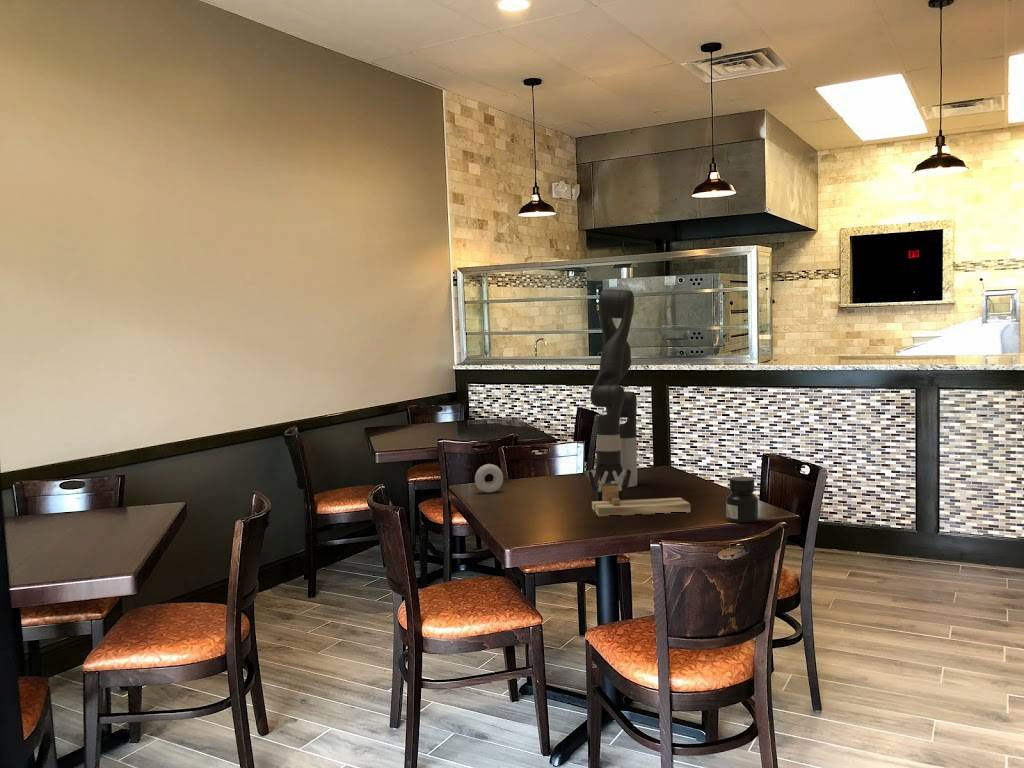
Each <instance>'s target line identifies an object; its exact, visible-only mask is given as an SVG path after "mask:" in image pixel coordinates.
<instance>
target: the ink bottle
mask: <svg viewBox="0 0 1024 768" xmlns="http://www.w3.org/2000/svg"><path fill="white" fill-rule="evenodd" d="M729 491H730V493H729V494H728V495H726V497H725V500H726V501H725V504H726V505H725V512H726V513H725V516H726V520H727V521H729V522H731V521H732V523H737V522H738V523H739V524H751V523H756V522H757V521H758V520H759V498H758V497H757V496H756V495H755V493H754V492H755V478H753V477H748V476H733V477H730V478H729ZM738 523H737V524H738Z"/></svg>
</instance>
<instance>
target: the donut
mask: <svg viewBox="0 0 1024 768" xmlns="http://www.w3.org/2000/svg"><path fill="white" fill-rule="evenodd" d="M489 474H490V475H492V477H493V480H492V481H490V482H486V480H485V478H486V476H487V475H489ZM503 482H504V475H503V472H502V470H501V468H499V466H498V465H495V464H492V463H487V464H484V465H482V466H480V467H479V468H478V469H477V471H476V472H475V475H474V483H475V485H476V487H477V488H478V490H479V491H481V492H483V493H485V494H486V493H487V494H490V493H494V492H497V490H499V489H500V488H501V486H502V484H503Z"/></svg>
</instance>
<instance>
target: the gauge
mask: <svg viewBox="0 0 1024 768" xmlns="http://www.w3.org/2000/svg"><path fill="white" fill-rule="evenodd" d="M602 501H610V502H611V503H612V504H613V505H620V499H619V486H618V485H616V484H615V483H612V484H611V483H604V485H603V486H602Z"/></svg>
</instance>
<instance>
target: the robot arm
mask: <svg viewBox="0 0 1024 768" xmlns="http://www.w3.org/2000/svg"><path fill="white" fill-rule="evenodd" d="M598 309H599V310H598V311H599V318H600V319H599V320H600V326H601V333H602V334H601V335H602V350H601V353H600V363H599V370H598V374H597V376H596V379H595V381H594V384H593V385H592V388H591V390H590V394H589V395H590V402H591V403H592V405H593V406H594V407H597V408H605V412H606V413H605V414H600V415H599V416H597V418H596V440H595V441H596V442H595V443H596V449H595V450H596V451H595V453H596V466H595V469H591V470H587V471H586V474H587V479H588V482H589V486H590V489H591V490H593V491H596V501H602V486H603V485H604V484H606V482H610V484H612V483H615V484H616V485H618V486H619V499H620V500H623V499H622V498H623V493H622V492H623V490H625V489H628V488H631V487H632V488H633V487H636V486H638V453H637V451H638V449H637V448H638V446H637V443H638V442H637V441H638V439H637V411H638V410H637V409H638V399H637V394H636V392H634V391H630V390H629V391H626V390H625V388H623V386H622V385H621V384H619V383H620V382H621V380H622V379H623V378H624V377H625V376H626V374H628V371H629V370H630V369H631V366H632V352H631V350H632V349H631V345H630V343H629V342H628V337H629V333H630V328H631V324H632V320H633V316H634V311H635V296H634V292H633V291H632V290H629V289H611V288H610V289H609V288H608V289H606V288H605V289H602V290H601V291H600V293H599V297H598ZM614 319H620V323H619V326H618V328H617V327H616V325H615V322H614ZM621 418H623V419H624V418H625V419H626V418H627V420H626V421H625V422H623V423H622V424H621V422H620V421H621ZM620 424H621V425H620ZM596 474H597V476H598V477H599V478H598V481H597V485H596V482H595V478H594V477H595V476H596Z"/></svg>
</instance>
